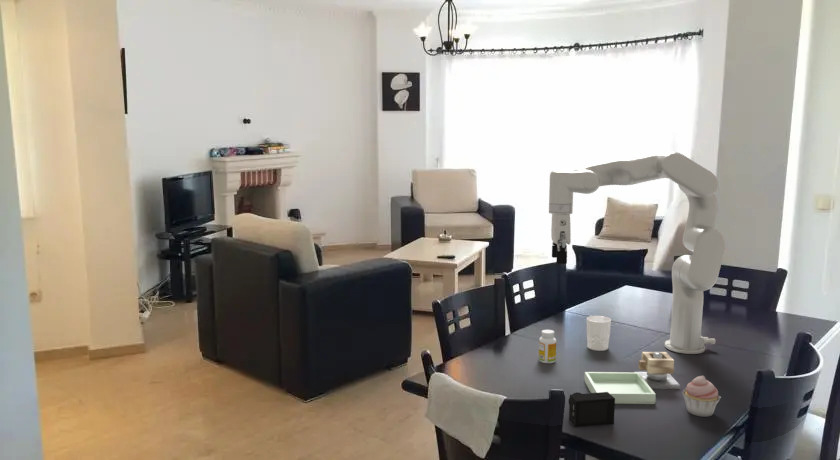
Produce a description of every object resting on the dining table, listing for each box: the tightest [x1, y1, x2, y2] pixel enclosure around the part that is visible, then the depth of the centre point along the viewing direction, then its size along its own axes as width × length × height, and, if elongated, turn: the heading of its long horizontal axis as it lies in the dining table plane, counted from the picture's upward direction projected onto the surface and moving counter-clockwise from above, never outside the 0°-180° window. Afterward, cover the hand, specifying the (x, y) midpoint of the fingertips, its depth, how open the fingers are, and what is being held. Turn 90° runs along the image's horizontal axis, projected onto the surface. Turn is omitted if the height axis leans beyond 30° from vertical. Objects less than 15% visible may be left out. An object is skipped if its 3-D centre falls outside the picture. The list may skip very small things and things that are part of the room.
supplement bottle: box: [538, 329, 557, 364], centre depth 210 cm, size 5×5×10 cm
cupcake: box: [682, 375, 722, 418], centre depth 172 cm, size 9×9×10 cm
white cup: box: [586, 315, 612, 352], centre depth 222 cm, size 8×8×10 cm
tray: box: [583, 371, 657, 405], centre depth 186 cm, size 16×16×3 cm
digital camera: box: [568, 392, 616, 428], centre depth 167 cm, size 10×5×7 cm, turn 100°
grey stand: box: [637, 351, 681, 390], centre depth 192 cm, size 10×10×9 cm
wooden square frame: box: [638, 351, 675, 375], centre depth 192 cm, size 9×7×4 cm
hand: (559, 260), depth 216 cm, fingers open, 9 cm apart
